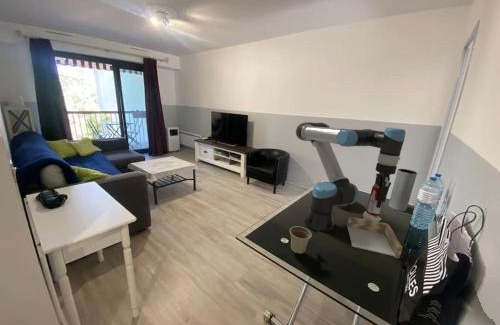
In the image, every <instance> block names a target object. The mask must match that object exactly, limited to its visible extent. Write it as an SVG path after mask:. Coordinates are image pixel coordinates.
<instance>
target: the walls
mask: <svg viewBox="0 0 500 325" xmlns="http://www.w3.org/2000/svg"><path fill="white" fill-rule="evenodd" d="M347 226H348V227H353V228H358V229H363V230H367V231H372V232H377V233H382V234H384V236H385V238H386V240H387V242H388V244H389V246H390V247H391V249H392V251H393V253H394V255H395V256H393V258H395V259H400V257H401V254H402V251H403V248H404V247H403V245H402V243H401V242H400V240H399V238H398V237H397V236H396V234H395V232H394V231H393V229H392V227H391V225H390V224H389V223H387V222H386V223H385V222H380V221H379V222H376V221H371V220H366V219H363V218H360V217H355V216H351V215H349V216H348V220H347V224H346V227H347Z"/></svg>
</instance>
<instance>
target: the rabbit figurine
mask: <svg viewBox="0 0 500 325" xmlns="http://www.w3.org/2000/svg"><path fill="white" fill-rule="evenodd" d="M362 217H363V218H362V219H366V220H371V221H376V222H380V221H381V220H382V218H381V217H380V215H379V216H377V217H375V216H371V215H369V214H368V213H367V212H366V210H365V211H364V212H363V214H362Z"/></svg>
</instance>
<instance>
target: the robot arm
mask: <svg viewBox="0 0 500 325" xmlns="http://www.w3.org/2000/svg"><path fill="white" fill-rule="evenodd" d="M406 134H407V133H406V130H405V129H402V128H396V127H386V128H385V129H384V131H380V130H374V129H371V128H369V129H368V128H362V129H352V128H349V129H348V128H339V127H337V128H335V127H331V126H330V125H329V124H328V123H323V122H309V121H307V122H306V121H305V122H302V123H300V124H299V125H297V127H296V128H295V135H296V137H297V138H298V139H299V140H301V141H303V142H310V143H311V145H312V147H314V148H315V149H316V151H317V154H318V157H319V158H320V161H321V164H322V166H323V169H324V172H325V175H326V177H327V179H328V181H326V182H325V181H320V182H317V183H315V184H314V186H313V188H312V192H311V201H310V206H309V210H308V212H307V213H306V215H305V217H304V224H305V225H306V226H307V227H309V228H310V229H312V230H313V231H320V232H329V231H331V230H333V229H334V218H333V212H334V207H344V206H343V205H347V206H349V205H352V204H354V203H356V202H357V201H358V198H359V195H360V194H359V193H360V192H359V188H358V187H357V185H356V184H354V183H352V182H350V180H349V178H348V177H346V176H345V175H344V173H343V171H342V168H341V166H340V164H339V162H338V160H337V156H336V153H335V152H334V149H333V148H332V145H331V144H335V145H339V146H341V147H348V148H350V147H372V148H377V149H379V153H378V156H377V157H378V158H377V163H376V165H375V166H376V167H375V171H376V172H377V173H376V174H375V179H374V180H375V181H374V184H377V186H379V190H378V195H377V199H375V204H374V208H373V213H376V214H379V213H380V214H381V212H380V210H381V211H382V208H381V206H382V207H383V205H382V202H383V203H385V202H386V200H387V196H388V193H389V189H390V187H391V185H392V182H390V181H391V180H390V179H391V175H396V173H397V168H398V164H399V161H400V160H401V156H400V155H401V153H402V148H403V146H404V142H405V138H406Z"/></svg>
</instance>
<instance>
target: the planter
mask: <svg viewBox="0 0 500 325" xmlns="http://www.w3.org/2000/svg"><path fill="white" fill-rule="evenodd" d="M417 175H418V172H416V171H414V170H411V169H406V168H398V169H397V170H396V173H395V178H394V183H393V186H392V189H391V194H390V197H389V200H388V206H389V207H390V208H391V209H393V210H396V211H400V212H405V211H407V210H408V205H409V202H410V199H411V196H412V194H413V193H412V192H413V189H414V185H415V182H416V178H417Z"/></svg>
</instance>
